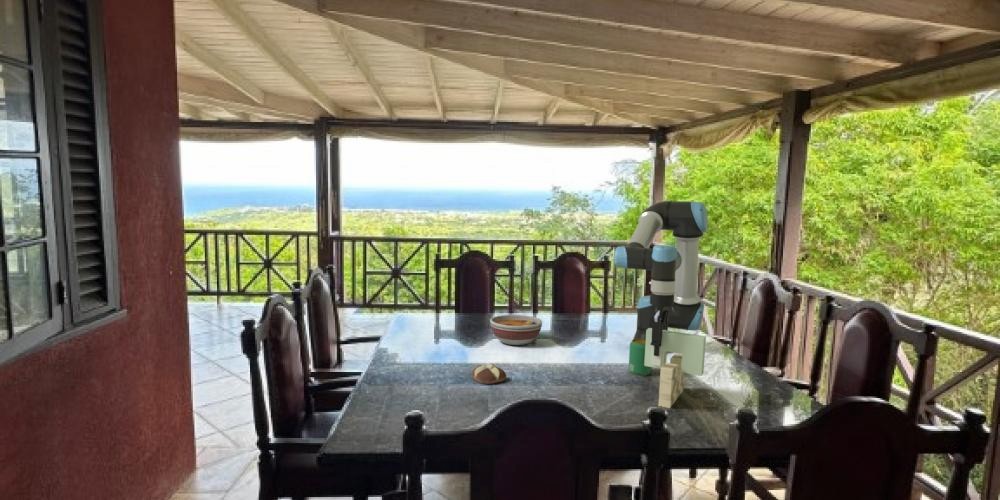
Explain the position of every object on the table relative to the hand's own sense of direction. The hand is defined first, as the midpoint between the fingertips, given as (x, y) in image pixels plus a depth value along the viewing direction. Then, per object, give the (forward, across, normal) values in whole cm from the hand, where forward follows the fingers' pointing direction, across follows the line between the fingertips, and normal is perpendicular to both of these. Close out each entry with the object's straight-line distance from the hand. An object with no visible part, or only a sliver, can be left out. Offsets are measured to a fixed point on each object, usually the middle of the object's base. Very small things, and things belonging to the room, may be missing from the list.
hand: (658, 363), depth 180 cm
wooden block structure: (+10, 0, +5) cm, 12 cm away
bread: (+11, +19, -53) cm, 58 cm away
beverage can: (+11, -19, -11) cm, 25 cm away
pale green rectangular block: (+1, 0, +5) cm, 5 cm away
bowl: (+11, -30, -69) cm, 76 cm away
